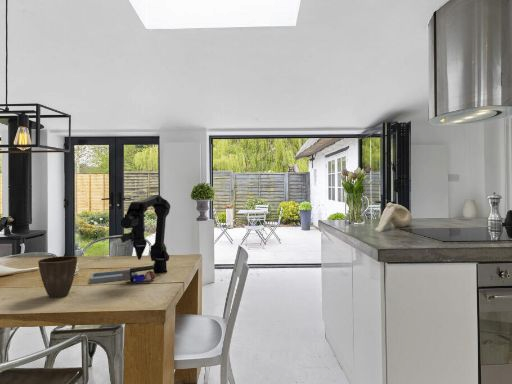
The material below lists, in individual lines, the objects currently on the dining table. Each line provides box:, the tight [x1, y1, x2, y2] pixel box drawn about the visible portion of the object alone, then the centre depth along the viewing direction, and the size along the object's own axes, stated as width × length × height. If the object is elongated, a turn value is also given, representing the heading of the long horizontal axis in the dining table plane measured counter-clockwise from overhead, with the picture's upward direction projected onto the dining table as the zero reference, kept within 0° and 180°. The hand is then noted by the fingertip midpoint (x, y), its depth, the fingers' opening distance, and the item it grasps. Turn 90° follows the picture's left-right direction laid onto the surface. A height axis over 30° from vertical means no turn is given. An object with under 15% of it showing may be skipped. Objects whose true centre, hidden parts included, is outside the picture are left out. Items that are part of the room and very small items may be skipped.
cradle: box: [90, 268, 139, 285], centre depth 175 cm, size 22×13×2 cm, turn 114°
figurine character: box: [122, 264, 156, 285], centre depth 167 cm, size 7×8×15 cm
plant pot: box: [37, 255, 78, 299], centre depth 147 cm, size 15×15×16 cm
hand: (138, 257), depth 167 cm, fingers open, 9 cm apart
